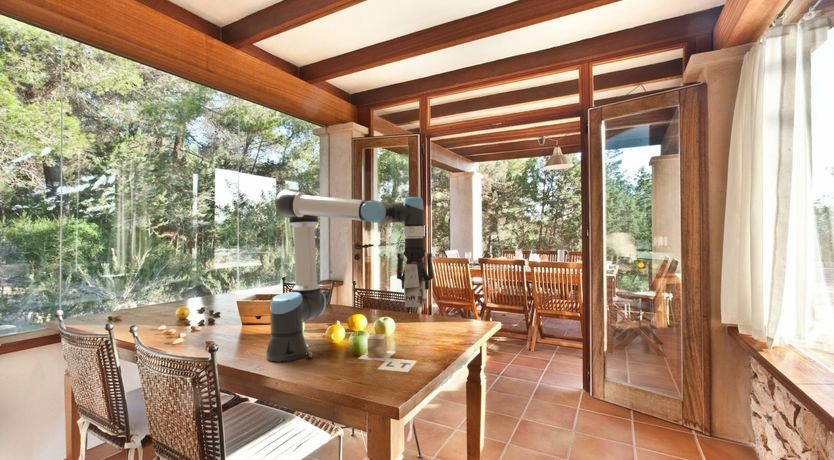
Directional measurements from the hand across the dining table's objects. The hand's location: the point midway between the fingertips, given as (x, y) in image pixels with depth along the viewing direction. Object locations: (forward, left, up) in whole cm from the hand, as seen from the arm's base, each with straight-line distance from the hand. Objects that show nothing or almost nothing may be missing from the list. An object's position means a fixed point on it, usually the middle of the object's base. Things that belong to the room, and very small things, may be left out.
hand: (415, 297), depth 142 cm
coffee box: (0, 0, -3) cm, 3 cm away
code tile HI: (-14, -5, -22) cm, 26 cm away
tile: (-3, -13, -22) cm, 25 cm away
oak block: (-14, -5, -21) cm, 26 cm away
